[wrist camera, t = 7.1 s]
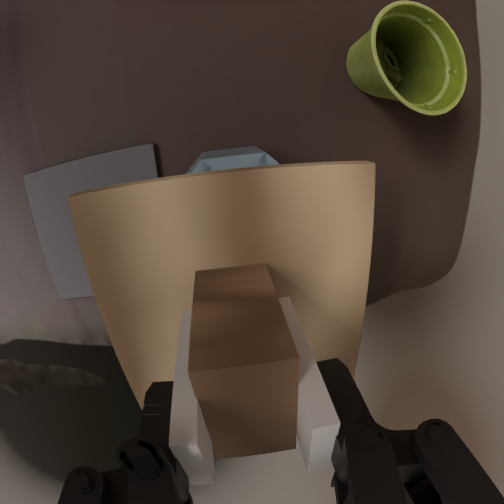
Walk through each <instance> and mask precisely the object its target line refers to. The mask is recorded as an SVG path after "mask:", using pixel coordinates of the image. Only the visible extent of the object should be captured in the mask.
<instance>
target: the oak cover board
mask: <svg viewBox="0 0 504 504" xmlns="http://www.w3.org/2000/svg"><path fill="white" fill-rule="evenodd" d="M374 201H375V163H373V162H370V161H336V162H313V163H295V164H280V165H267V166H255V167H244V168H234V169H224V170H215V171H206V172H198V173H190V174H183V175H175V176H168V177H161V178H155V179H148V180H142V181H136V182H130V183H124V184H118V185H113V186H107V187H102V188H97V189H91V190H86V191H81V192H77V193H74V194H72V195H70V196H69V197H68V202H69V206H70V211H71V215H72V220H73V224H74V228H75V232H76V236H77V240H78V244H79V247H80V251H81V255H82V258H83V262H84V265H85V268H86V272H87V275H88V278H89V281H90V284H91V288H92V291H93V294H94V297H95V300H96V302H97V305H98V308H99V311H100V314H101V317H102V319H103V322H104V325H105V327H106V330H107V333H108V335H109V338H110V340H111V343H112V345H113V348H114V350H115V352H116V355H117V357H118V360H119V362H120V364H121V366H122V369H123V371H124V373H125V376H126V378H127V380H128V382H129V384H130V386H131V388H132V391H133V393H134V395H135V397H136V399H137V401H138V403H139V405H140V407H141V409H142V410H143V407H144V399H145V393H146V391H147V390H148V388H149V387H150V385H151V384H152V382H161V381H174V373H175V363H176V354H177V345H178V336H179V328H180V319H181V312H182V310H187V309H192V315H191V328H190V342H189V358H188V375H189V378H190V381H191V385H192V388H193V391H194V394H195V398H197V399H198V402H199V405H200V408H201V411H202V415H203V418H204V421H205V424H206V426H207V429H208V432H209V435H210V438H211V441H212V444H213V451H214V454H215V456H216V459H219V458H232V457H242V456H250V455H258V454H265V453H272V452H278V451H284V450H290V449H295V448H296V434H297V414H298V385H299V355H298V352H297V349H296V347H295V344H294V341H293V338H292V335H291V333H290V330H289V327H288V324H287V321H286V319H285V316H284V313H283V310H282V307H281V305H280V302H279V299H278V298H285V297H289V298H290V300H291V303H292V305H293V307H294V310H295V312H296V315H297V317H298V319H299V322H300V324H301V327H302V329H303V331H304V334H305V336H306V339H307V341H308V344H309V346H310V349H311V351H312V353H313V356H314V358H315V361H316V362H318V361H323V360H328V359H333V358H338V359H339V360H340V361H341V362H343V363H344V364H345V365H346V366H347V367H348V369H349V371H350V373H351V375H352V379H354V373H355V368H356V363H357V357H358V351H359V346H360V340H361V334H362V326H363V320H364V313H365V306H366V298H367V290H368V281H369V272H370V261H371V250H372V237H373V221H374Z"/></svg>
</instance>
